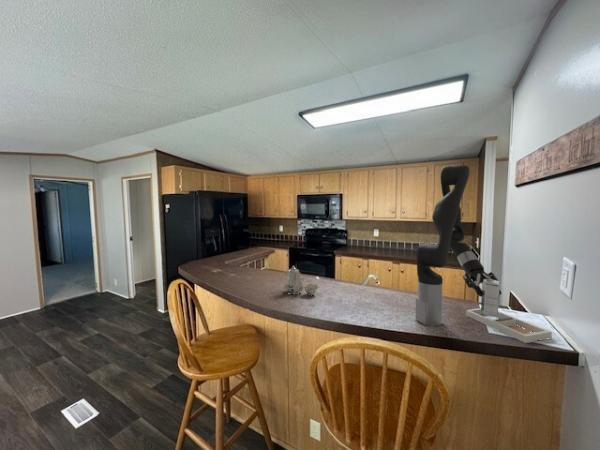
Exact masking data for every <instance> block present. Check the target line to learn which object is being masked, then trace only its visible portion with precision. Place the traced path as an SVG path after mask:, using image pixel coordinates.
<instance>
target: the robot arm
mask: <svg viewBox="0 0 600 450" xmlns="http://www.w3.org/2000/svg"><path fill="white" fill-rule="evenodd" d="M469 177H470V167H469V166H468V165H465V164H455V165H445V166H443V167H442V169H441V171H440V185H441V186H440V187H441V193H442V197H441V199H440V200H438V201H437V203H436V205H434V206H435V207H434V211H433V214H432V222H433V225H434V227H435V228H436V230H437V233H438V235H439V239H438V243H437V244H434V243H433V244H430V243H421V244H419V245H418V246H417V249H416V274H417V297H416V298H415V320H416V321H417V322H420V323H421V324H423V325H424V326H431V327H437V326H438V327H439V326H441V325H443V323H442V321H443V282H444V281H443V276H442V275H441V274H440V273H437V272H436V271H434V270H433V269H432V268H431V267H434V268H443V267H445V266H446V265H447V260H448V257H449V253H450V252H449V251H450V250H451V251H452V252H453V253H454V256H455V257H456V259H457V261H458V263H459V264H460V266H461V268H462V269H463V271H464V272H465V273H464V275H462V278H463V280H464V282H465V284H466V285H467V287H468V288H469V289H471V288H472V289H473V290H474V291H475V292H476V294H477V296H478V297H480V298H482V296H483V295H484V293H483V291H482V288H481V287H480V286H479V285H480V284H483V280H484V279H491V280H496V281H499V279H498V278H497V277H496V275H495V274H494V273H493V272H489V273H487V272H485V267H484V265H483V264H482V263H481V261H480V260H479V259H478V257H477V255H475V253H473V251H472V250H471V248H470V247H469V245H468V244H467V243H466V242H462V241H464V239H465V237H466V236H465V235H466V234H465V232H464V229H463V224H462V222H461V221H462V208H461V200H462V197H463V194H464V192H465V189H466V187H467V184H468V182H469V181H468V180H469ZM451 186H453V188H452V189H451ZM500 295H502V291H501V289H500V288H499V296H500Z"/></svg>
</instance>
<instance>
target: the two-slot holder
mask: <svg viewBox="0 0 600 450" xmlns="http://www.w3.org/2000/svg"><path fill="white" fill-rule="evenodd" d="M465 316H466V317H468V318H470V319H472V320H474V321H477V322H479V323H481V324H484V325H485V326H488V327H490V328H492V329H494V330H497V331H499V332H500V333H503V334H505V335H507V336H509V337H511V338H513V339H517V341H520V342H522V343H525V344H528V343H529V344H530V343H533V342H534V341H535V342H538V341H537V340H540V339H546V340H548V339H547V338H551V339H552V336H553V332H552V331H550V330H548V329H545V328H543V327H541V326H538V325H535V324H532V323H530V322H527V321H526V320H525V321H524V320H522V319H519V318H517V317H515V316H511V315H510V314H508V313H504V312H502V311H499V310H498V316H497V317H496V318H497V319H490V318H488V317H486V316H485V315H483V314H481V307H480V308H479V307H478V308H472V309H465ZM515 325H516V326H515ZM517 325H518V326H517ZM509 326H510V327H509ZM519 326H520V327H519ZM522 327H523V328H525V329H523V328H522ZM526 329H527V330H526ZM529 330H530V331H533V333H530V331H529ZM534 332H535V333H534ZM540 341H541V340H540ZM535 342H534V343H535Z"/></svg>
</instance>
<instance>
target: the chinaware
mask: <svg viewBox="0 0 600 450" xmlns="http://www.w3.org/2000/svg"><path fill="white" fill-rule="evenodd" d="M285 276H286V279H287V283H286V284H285V286H284V290H285V291H286V293H287V292H288V293H290V294H298V293H300V292H301V293H302V291H303V290H304V291H305V293H306V294H307V295H309V294H310V295H311V296H310V297H313V296H314V295H315V293H317V291H318V288H319V286H318V284H316V283H315V284H312V283H307V284H303V281H304V278H303V277H301V272H300V270H299V269H297V268H296V267H295V265H292V267H291V268H290V269H287V270H286V272H285ZM302 284H303V285H302ZM301 293H300V294H301ZM313 294H314V295H313ZM298 295H299V294H298ZM312 295H313V296H312Z"/></svg>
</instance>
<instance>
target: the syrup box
mask: <svg viewBox="0 0 600 450" xmlns="http://www.w3.org/2000/svg"><path fill="white" fill-rule="evenodd" d="M500 285H501V281H500V280H498V281H496V280H491V279H484V280H483V283H482V288H481V290H482V291H483V293H484V295H483V296H482V297H481V304H480V308H481V314H483V315H482V316H487V317H488V316H489V317H493V318H497V316H498V311H499V304H500V303H499V302H500V295H499V289H500Z"/></svg>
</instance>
